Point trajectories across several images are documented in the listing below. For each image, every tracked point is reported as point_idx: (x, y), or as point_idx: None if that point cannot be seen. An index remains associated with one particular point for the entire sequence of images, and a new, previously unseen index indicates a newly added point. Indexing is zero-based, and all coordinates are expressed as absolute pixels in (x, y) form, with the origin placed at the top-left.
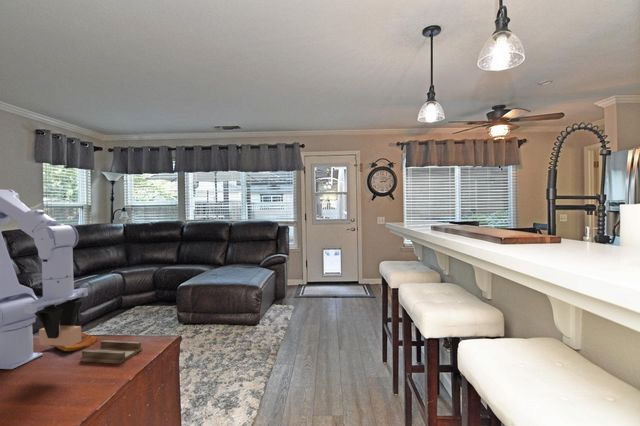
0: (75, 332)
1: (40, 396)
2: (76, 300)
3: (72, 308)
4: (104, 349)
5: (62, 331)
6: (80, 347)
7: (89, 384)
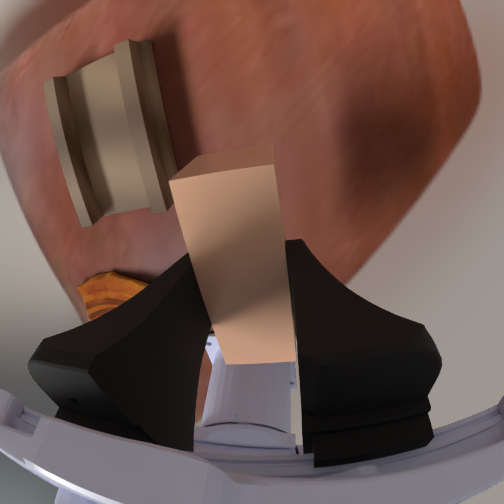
0: (228, 163)
1: (401, 104)
2: (66, 402)
3: (134, 349)
4: (106, 185)
5: (282, 227)
6: (131, 279)
7: (305, 12)
